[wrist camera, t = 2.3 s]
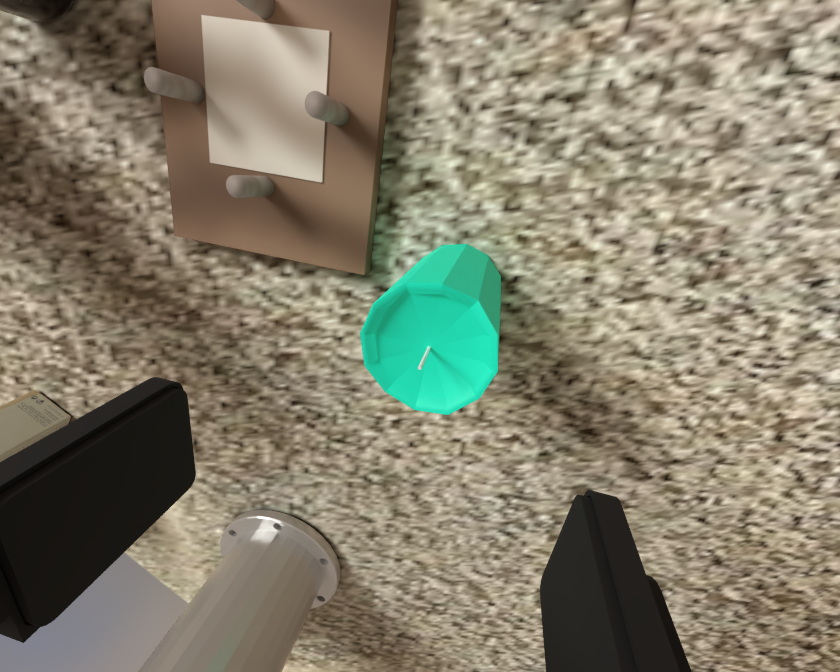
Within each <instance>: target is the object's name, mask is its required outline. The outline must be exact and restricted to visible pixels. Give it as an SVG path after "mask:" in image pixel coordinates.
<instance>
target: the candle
mask: <svg viewBox="0 0 840 672" xmlns="http://www.w3.org/2000/svg"><path fill="white" fill-rule="evenodd" d="M500 307H501V276H500V274H499V272H498V271H497V269H496V267H495V266H494V264H493V262H492V261H491V259H490V257H489V256H488V255H486V254H484V253H483V252H481V251H479V250H477V249H475V248H473V247H471V246H470V245H468V244H457V245H442V246H440V247H439V248H437V249H436V250H434V251H433V252H431V253H430V254H428V255H427V256H425V257H424V258H422V259H421V260H420V261H419V262H418V263H417V264H416V265H415V266H414V267H412V268H411V269H410V270H409V271H408V272H407V273H406V274H405V275H404V276H403V277H402V278H401V279H399V280H398V281H397V282H396V283H395V284H394V285H393V286H392V287H391V288H390V289H389V290H388V291H386V292H385V293H384V294H383V295H382V296H381V297H380V298H379V299H378V300H377V301H376V302H375V303H373V305H372V307H371V310H370V312H369V314H368V317H367V319H366V321H365V323H364V326H363V328H362V330H361V332H360V337H361V344H362V351H363V358H364V365H365V367H366V368H367V369H368V371H369V372H370V373H371V374H372V376H373V377H374V378H375V380H376V381H377V382H378V383H379V385H380V386H381V387H382V388H383V390H384V391H385V392H386V393H388V394H390V395H391V396H393V397H395V398H396V399H398V400H399V401H401V402H403V403H404V404H406V405H407V406H409V407H411V408H412V409H414V410H419V411H425V412H432V413H439V414H445V415H449V414H451V413H453V412H455V411H457V410H458V409H460V408H462V407H464V406H466V405H468V404H470V403H472V402H474V401H476V400H478V399H479V398H480V397H481V395H482V394H483V392H484V391H485V389H486V388H487V387H488V385H489V384H490V382H491V381H492V379H493V378H494V376H495V375H496V373H497V372H498V355H499V331H500Z"/></svg>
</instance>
